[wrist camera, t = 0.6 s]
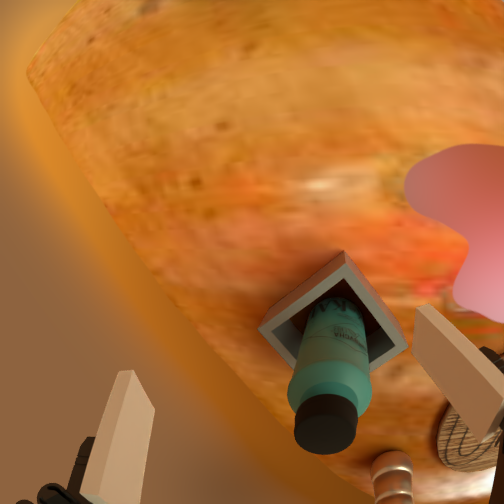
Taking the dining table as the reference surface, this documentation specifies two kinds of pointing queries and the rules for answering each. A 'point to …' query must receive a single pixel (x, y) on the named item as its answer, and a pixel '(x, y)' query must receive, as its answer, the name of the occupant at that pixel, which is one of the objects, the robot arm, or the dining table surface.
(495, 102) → the dining table surface
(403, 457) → the plastic bottle
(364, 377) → the beverage bottle
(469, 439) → the trivet
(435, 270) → the dining table surface
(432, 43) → the dining table surface
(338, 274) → the bottle holder
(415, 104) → the dining table surface
